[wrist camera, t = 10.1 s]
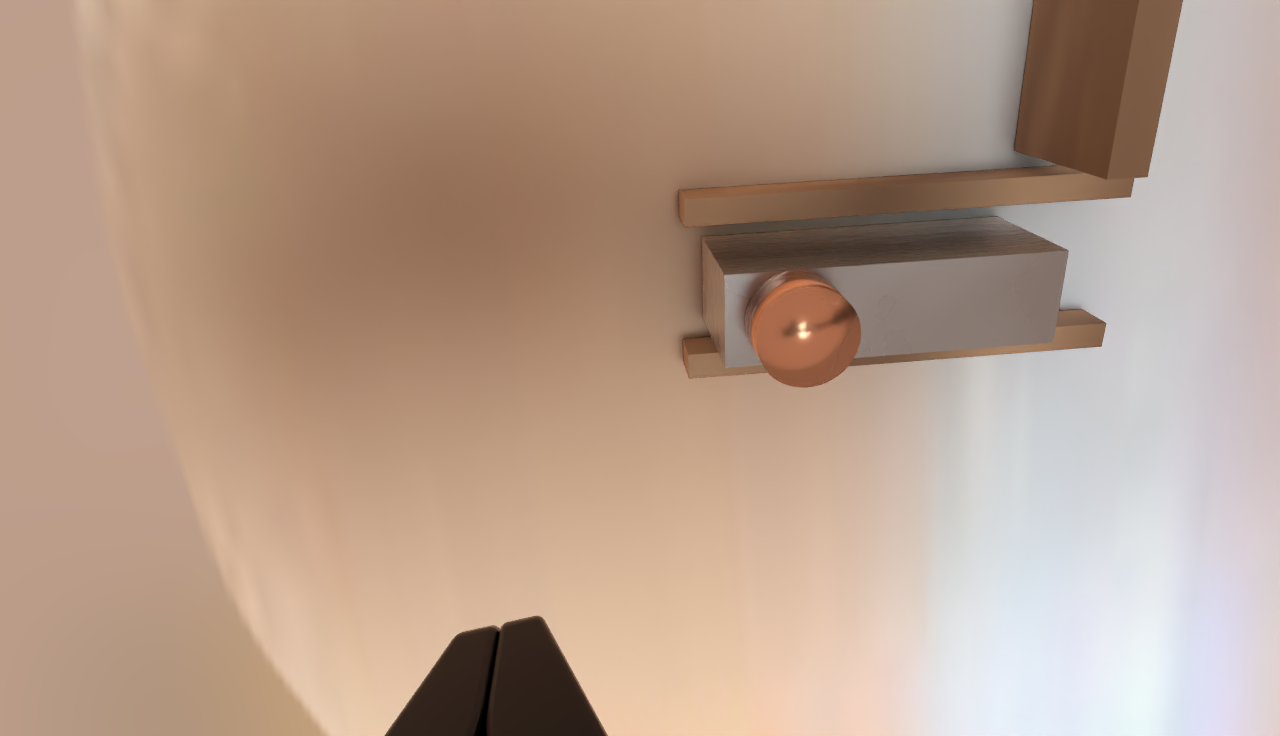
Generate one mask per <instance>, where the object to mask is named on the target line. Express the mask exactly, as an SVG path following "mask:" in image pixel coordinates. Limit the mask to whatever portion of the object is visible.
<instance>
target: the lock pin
mask: <svg viewBox="0 0 1280 736" xmlns="http://www.w3.org/2000/svg"><path fill="white" fill-rule="evenodd" d="M1068 252H1069V251H1068V250H1066V249H1064V248H1062V247H1060V246H1058V245H1056V244H1054V243H1052V242H1050V241H1048V240H1045V239H1043V238H1041V237H1039V236H1037V235H1035V234H1033V233H1031V232H1029V231H1027V230H1025V229H1022V228H1020V227H1018V226H1016V225H1014V224H1012V223H1010V222H1008V221H1006V220H1004V219H1002V218H1000V217H997V216H996V217H981V218H966V219H952V220H937V221H922V222H908V223H893V224H879V225H864V226H849V227H835V228H820V229H805V230H791V231H776V232H761V233H747V234H732V235H717V236H703V237H702V288H703V319H704V321H705V324H706V326H707V328H708V331H709V333H710V335H711V337H712V340H713V342H714V344H715V346H716V349H717V351H718V353H719V355H720V358H721V360H722V362H723V364H724V367H725V368H732V367H745V366H758V365H763V367H764V368H765V369H766V371H767V372H768V373H769V374H770V375H771V376H772V377H773V378H775V379H776V380H778V381H780V382H781V383H784V384H786V385H789V386H794V387H812V386H817V385H821V384H823V383H826V382H828V381H830V380H832V379H834V378H835V377H837V376H838V375H839V374H841V373H842V372H843V371H844V370H845V369H846V368H847V367H848V366H849V364H850V363H851V362H852V360H853V359H854V358H861V357H874V356H887V355H900V354H913V353H926V352H939V351H952V350H965V349H978V348H991V347H1004V346H1017V345H1030V344H1043V343H1053V341H1054V335H1055V329H1056V323H1057V317H1058V311H1059V305H1060V299H1061V293H1062V287H1063V281H1064V276H1065V270H1066V264H1067V258H1068Z"/></svg>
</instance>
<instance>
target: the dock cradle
mask: <svg viewBox="0 0 1280 736" xmlns="http://www.w3.org/2000/svg"><path fill="white" fill-rule="evenodd" d="M1182 2H1183V0H1034V6H1033V13H1032V21H1031V28H1030V36H1029V43H1028V51H1027V58H1026V66H1025V73H1024V81H1023V88H1022V96H1021V103H1020V111H1019V118H1018V126H1017V133H1016V141H1015V148H1014V151H1017V152H1020V153H1023V154H1026V155H1030V156H1033V157H1036V158H1039V159H1042V160H1046V161H1049V162H1052V163H1055V164H1058V165H1057V166H1042V167H1026V168H1011V169H995V170H980V171H965V172H949V173H934V174H918V175H903V176H888V177H872V178H857V179H842V180H826V181H811V182H795V183H780V184H765V185H749V186H734V187H718V188H703V189H688V190H679V217H680V219H681V220H682V222H683V224H684V226H685V227H695V226H710V225H725V224H739V223H754V222H769V221H784V220H799V219H814V218H828V217H843V216H858V215H873V214H888V213H902V212H917V211H932V210H947V209H962V208H976V207H991V206H1006V205H1021V204H1036V203H1050V202H1065V201H1080V200H1095V199H1110V198H1125V197H1131V193H1132V187H1133V182H1134V178H1140V177H1148V172H1149V167H1150V162H1151V157H1152V152H1153V147H1154V142H1155V137H1156V132H1157V127H1158V122H1159V117H1160V112H1161V107H1162V102H1163V97H1164V92H1165V87H1166V82H1167V77H1168V72H1169V67H1170V62H1171V57H1172V52H1173V47H1174V42H1175V37H1176V32H1177V27H1178V22H1179V17H1180V12H1181V7H1182ZM1105 327H1106V323H1105V322H1103V321H1102V320H1100V319H1098V318H1097V317H1095V316H1093V315H1091V314H1090V313H1088V312H1086V311H1084V310H1083V309H1077V310H1063V311H1058V317H1057V323H1056V329H1055V335H1054V341H1053V343H1043V344H1030V345H1017V346H1004V347H991V348H978V349H965V350H952V351H939V352H926V353H913V354H900V355H887V356H874V357H861V358H854V359H853V360H852V362H851V363H850V364H849V366H857V365H870V364H883V363H896V362H909V361H921V360H934V359H947V358H960V357H973V356H986V355H998V354H1011V353H1024V352H1037V351H1050V350H1063V349H1076V348H1088V347H1101V346H1102V342H1103V337H1104V332H1105ZM683 360H684V365H685V368H686V371H687V374H688V377H689V379H690V378H703V377H716V376H729V375H741V374H754V373H767V371H766V369H765V368H764V367H763V365H758V366H745V367H732V368H725V367H724V364H723V362H722V360H721V358H720V355H719V353H718V351H717V349H716V346H715V344H714V342H713V340H712V337H704V338H691V339H683Z"/></svg>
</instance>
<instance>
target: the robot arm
mask: <svg viewBox="0 0 1280 736" xmlns="http://www.w3.org/2000/svg"><path fill="white" fill-rule="evenodd" d="M385 736H608V735H607V733H606V732H605V730H604V728H603V726H602V724H601V722H600V721H599V719H598V717H597V715H596V713H595V711H594V710H593V708H592V706H591V704H590V702H589V701H588V699H587V697H586V695H585V693H584V691H583V690H582V688H581V686H580V684H579V682H578V680H577V679H576V677H575V675H574V673H573V671H572V670H571V668H570V666H569V664H568V662H567V660H566V659H565V657H564V655H563V653H562V651H561V649H560V648H559V646H558V644H557V642H556V640H555V639H554V637H553V635H552V633H551V631H550V629H549V628H548V626H547V624H546V622H545V620H544V619H543V618H542V617H540V616H533V617H528V618H524V619H519V620H515V621H510V622H507V623H505V624H504V625H503V626H502V627H501V629H500V628H498V627H497V626H487V627H483V628H478V629H474V630H469V631H465V632H462V633H459V634H458V635H457V636H455V637H454V639H453V640H452V641H451V643H450V644H449V645H448V647H447V648H446V650H445V651H444V652H443V654H442V655H441V657H440V658H439V660H438V661H437V662H436V664H435V665H434V667H433V668H432V669H431V671H430V672H429V674H428V675H427V676H426V678H425V679H424V681H423V682H422V684H421V685H420V686H419V688H418V689H417V691H416V692H415V693H414V695H413V696H412V698H411V699H410V700H409V702H408V703H407V705H406V706H405V708H404V709H403V710H402V712H401V713H400V715H399V716H398V717H397V719H396V720H395V722H394V723H393V725H392V726H391V727H390V729H389V730H388V732H387V733H386V734H385Z"/></svg>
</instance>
